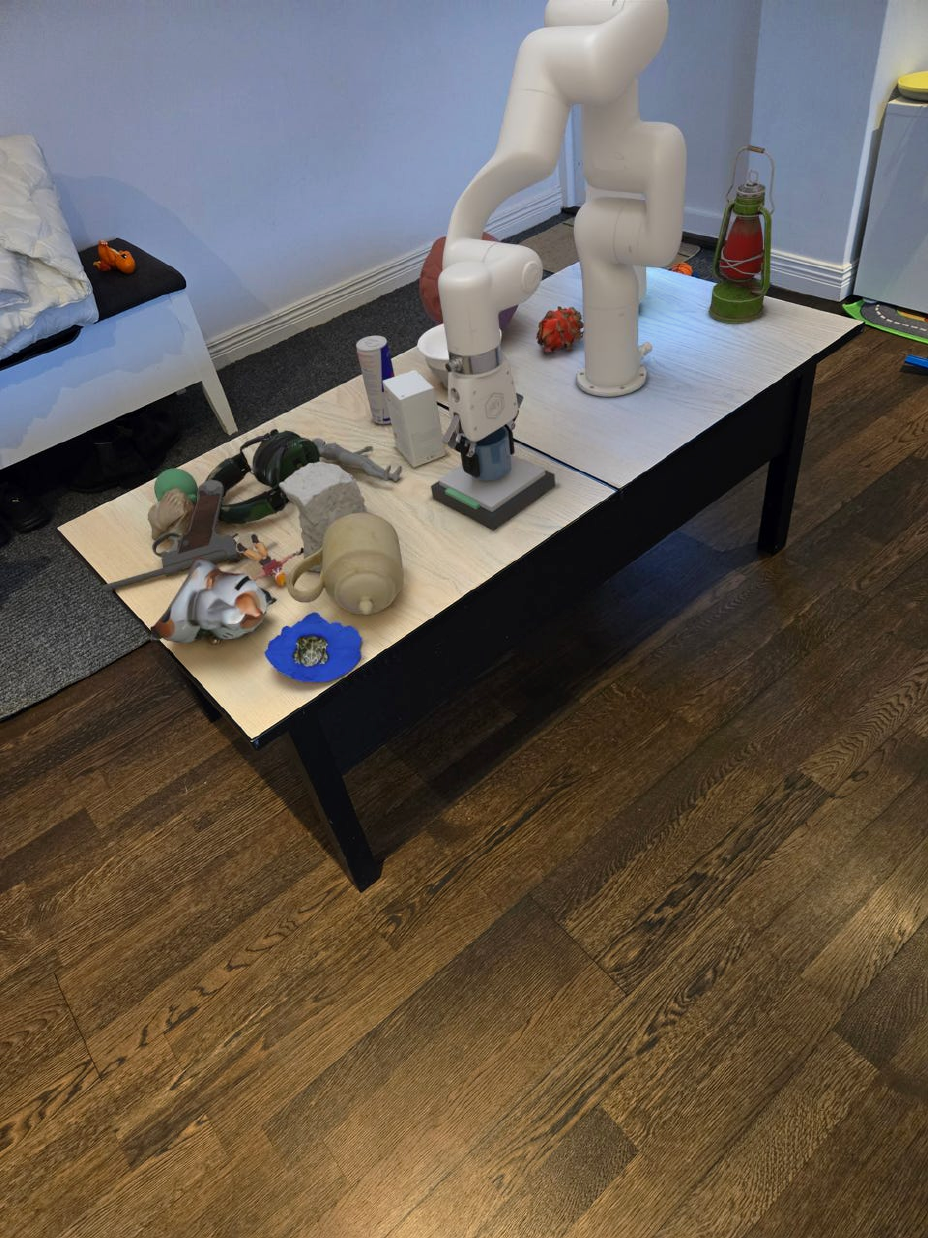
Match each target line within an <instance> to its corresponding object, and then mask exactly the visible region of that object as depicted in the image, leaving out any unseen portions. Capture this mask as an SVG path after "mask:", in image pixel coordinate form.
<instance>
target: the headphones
mask: <svg viewBox="0 0 928 1238" xmlns="http://www.w3.org/2000/svg"><path fill="white" fill-rule="evenodd" d="M256 444H259V445H258V447H257V448H256V450H255V452H254V454H253V457H252V461H251V465H250V464H249V463H248V462H249V461H248V459H247V456H246V455H245V453H244V451H243V450H245V449H246V448H249V447H251V446H253V445H256ZM317 462H321V457H320V455H319V451H318V448H317V446H316V445H315V443H314V442H313V440H311V439H309V438H306V437H302V436H300V435H299V434H298V433H296V432H294V431H292V430H286V429H285V430H283V431H281V432H279V430H278V429H277V428H274V429H271V430H270V431H269V432H266V433H265V434H263V435H259V436H257V437H254V438H251V439H249V440H247V441H245V442H244V443H243V444H242V445H240V447H239V453H237V454H235V455H233V456H231V457H227V458H225V459H224V460H222V461H221V462H220V463H219V464H218V465H216V467H214V468H213V469H212V471H211V472H210V473H209V474H208V475H207V477H206V478H205V480H204V482H206V481H208V480H216V481H219V482H221V483H222V485H223V488H224V495H223V500H222V502H223V501H224V498H225V497H226V495H227V493H228V492H229V491H230V490H231V489H232V488H234V487H236V486H237V485H238V484H239V483H241V482H242V481H243V480H244V479H245V477H246V475H247V474H249V473H250V474H251V475H253V476H254V478H255V479H256V480H257V481H258V482H259V483H260V484H262V485H264V486H266V487H270V489H267V490H264V491H263V492H261V493H260V494H257V495H255V496H253V497H250V498H248V499H245V500H243V501H238V502H234V503H225V504H224V503H222V504H221V508H220V512H219V517H218V521H219V522H221V523H224V525H227V526H228V525H244V524H245V525H246V524H247V523H252V522H257V521H260V520H262V519H264V518H266V517H269V516H271V515H275V514H278V513H279V512H281V511H283V510H284V509H285V508H286V507H287V504H289V503H292V502H293V501H290V500H289V499H288V497H287V495H286V494H285V493H284V491H283V490H282V489H281V487H280V486H279V484H280V483H281V482H284V481H285V480H286V479H287V478H288V477H289V476H291V475H292V474H293V473H294V472H295V471H297V470H299V469H300V468H301V467H305V466H306V465H307V464H309V463H317ZM293 503H294V502H293Z"/></svg>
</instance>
